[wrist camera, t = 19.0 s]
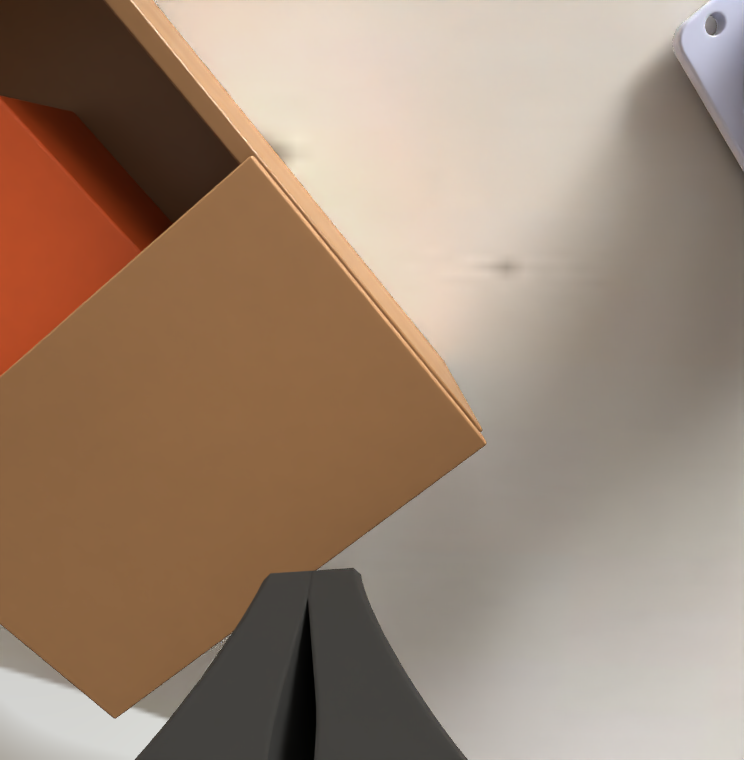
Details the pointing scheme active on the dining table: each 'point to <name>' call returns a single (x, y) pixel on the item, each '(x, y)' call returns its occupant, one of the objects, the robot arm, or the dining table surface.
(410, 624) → the dining table surface
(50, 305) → the block
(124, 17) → the box
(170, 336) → the flap
